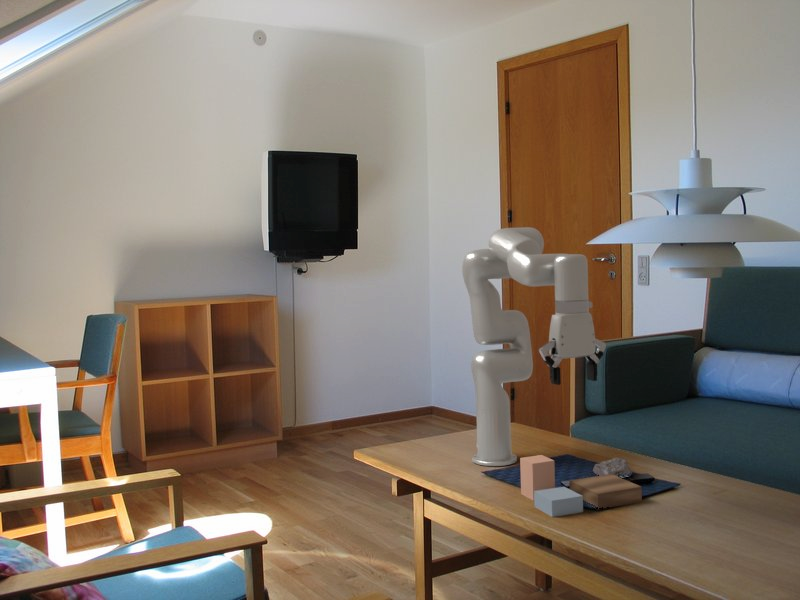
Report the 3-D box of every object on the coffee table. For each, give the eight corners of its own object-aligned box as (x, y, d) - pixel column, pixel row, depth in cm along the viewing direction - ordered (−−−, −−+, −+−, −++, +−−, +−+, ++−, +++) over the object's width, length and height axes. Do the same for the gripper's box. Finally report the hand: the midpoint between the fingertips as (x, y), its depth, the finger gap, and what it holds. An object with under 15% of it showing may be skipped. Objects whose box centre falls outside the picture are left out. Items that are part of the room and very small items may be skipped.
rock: (612, 482, 205) (611, 467, 205) (587, 472, 215) (586, 457, 215) (640, 478, 208) (640, 462, 208) (614, 468, 218) (614, 453, 218)
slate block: (534, 507, 188) (534, 491, 188) (564, 503, 191) (564, 486, 190) (552, 518, 180) (551, 500, 180) (583, 513, 183) (582, 495, 183)
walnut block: (569, 496, 196) (569, 480, 196) (611, 489, 200) (611, 473, 200) (598, 511, 185) (597, 493, 184) (641, 503, 189) (641, 486, 188)
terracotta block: (521, 494, 198) (520, 457, 197) (542, 490, 200) (541, 454, 199) (533, 500, 192) (532, 463, 192) (555, 497, 194) (554, 460, 194)
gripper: (594, 305, 192) (596, 376, 192) (530, 309, 185) (532, 383, 186) (613, 306, 185) (615, 380, 185) (547, 311, 178) (549, 388, 179)
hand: (573, 382), depth 186 cm, fingers open, 9 cm apart
